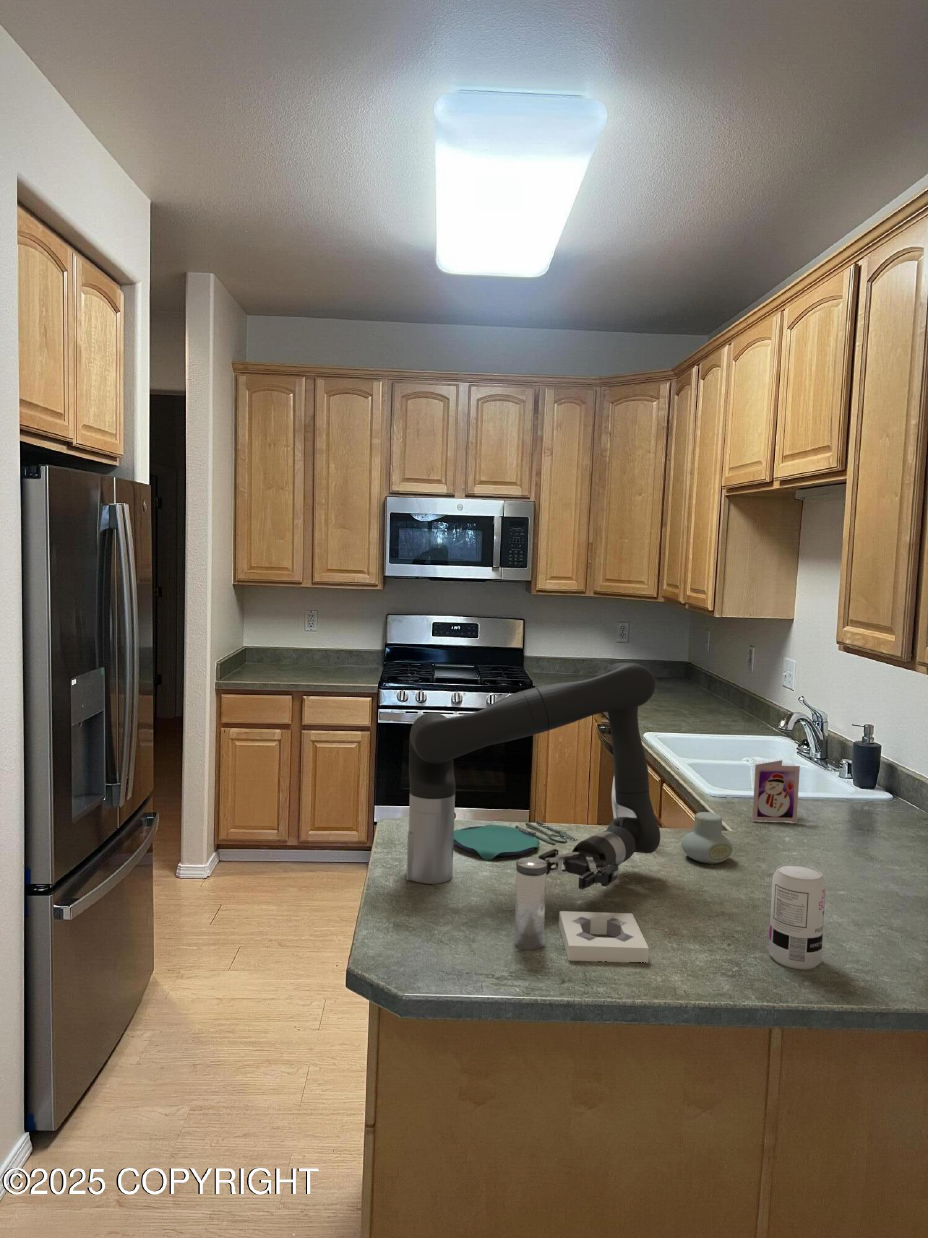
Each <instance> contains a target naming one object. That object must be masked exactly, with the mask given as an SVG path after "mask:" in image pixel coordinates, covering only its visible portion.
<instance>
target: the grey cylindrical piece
mask: <svg viewBox="0 0 928 1238" xmlns="http://www.w3.org/2000/svg"><path fill="white" fill-rule="evenodd" d="M515 863H516V864H515V866H516V868H515V871H516V879H515V880H516V881H515V882H516V883H515V905H514V906H515V908H514V934H513V935H514V937H513V945H515V947H517V948H518V949H519V948H520V949H522V950H527V951H534V950H539V949H541V948H543V947H544V945H545V943H544V942H545V940H544V939H545V917H546V915H545V913H546V893H547V891H546V890H547V875H546V872H547V862H546V861H544V860H542V859H538V858H537V857H522V858H519V859H517V860H516V862H515Z"/></svg>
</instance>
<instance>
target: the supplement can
mask: <svg viewBox="0 0 928 1238" xmlns="http://www.w3.org/2000/svg"><path fill="white" fill-rule="evenodd" d="M771 884H772V885H771V899H770V900H771V903H770V917H769V919H770V920H769V937H768V953H769V955H770V957H772V959H773V960H774V961H775V962H777V963H778V964H780V965H782V966H784V967H787V968H790V969H797V970H812V969H814V968H816V967H817V966H818V965H820V964H821V963H822V953H823V938H824V937H823V935H824V922H825V921H824V920H825V919H824V918H825V903H826V887H827V885H826V881H825V879H824V877H823V873H822V872H821V871H820V870H818V869H817V868H815V867H811V866H806V865H802V864H797V863H796V864H794V863H793V864H791V863H789V864H788V863H785V864H780V865H779V866H777V869H776V871H775V872H774V874H773V876H772V883H771Z"/></svg>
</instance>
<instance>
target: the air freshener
mask: <svg viewBox="0 0 928 1238" xmlns="http://www.w3.org/2000/svg"><path fill="white" fill-rule="evenodd" d="M693 822H694V825H693V831H690V832H688V833H687V834H686V835H685V836H684V837H683V838H682V841H681V848H682V850H683V852H684V853H685V855H687V856H688V858H690V859H692V860H694V861H696V862H699V863H703V864H707V863H708V864H709V865H717V864H719V863H722V862H725V861H726V860H727V859H729V858H730V857H731V855H732V854H733V848H734V847H733V844H732V842H731V841H730V839H728V837H727V836H726V835H724V834H722V830H723V817H722V816H721V815H720V814H718V813H714V812H709V811H707V812H706V811H702V812H701V811H700V812H697V813H695V814H694V821H693Z"/></svg>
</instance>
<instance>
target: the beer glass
mask: <svg viewBox="0 0 928 1238" xmlns="http://www.w3.org/2000/svg"><path fill="white" fill-rule="evenodd" d="M612 778H613V780H612V787H611V806H612V815H613V819H615V818H618V817H632V818H637V817H636V815H635V813H634V812H633V811H632V810H631V809H628V808H626V807H623V806H620V805H619V804H618V803H617V802H616V796H615V777H614V775H613V777H612Z"/></svg>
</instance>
